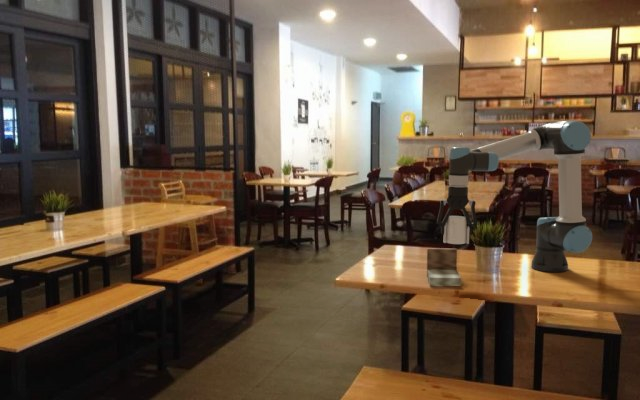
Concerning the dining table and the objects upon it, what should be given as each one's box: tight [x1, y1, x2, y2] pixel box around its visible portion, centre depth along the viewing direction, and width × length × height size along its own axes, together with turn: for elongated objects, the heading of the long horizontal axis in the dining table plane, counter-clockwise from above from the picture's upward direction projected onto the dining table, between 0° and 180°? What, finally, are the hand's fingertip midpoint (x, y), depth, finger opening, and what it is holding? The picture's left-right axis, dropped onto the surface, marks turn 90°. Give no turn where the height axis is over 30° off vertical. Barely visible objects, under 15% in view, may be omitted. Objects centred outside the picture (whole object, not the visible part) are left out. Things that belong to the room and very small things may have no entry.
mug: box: [445, 215, 468, 245], centre depth 226 cm, size 12×8×10 cm
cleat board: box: [426, 247, 462, 287], centre depth 231 cm, size 12×16×12 cm
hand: (455, 242), depth 226 cm, fingers closed on mug, 8 cm apart
